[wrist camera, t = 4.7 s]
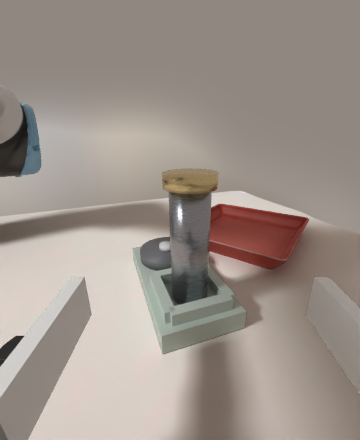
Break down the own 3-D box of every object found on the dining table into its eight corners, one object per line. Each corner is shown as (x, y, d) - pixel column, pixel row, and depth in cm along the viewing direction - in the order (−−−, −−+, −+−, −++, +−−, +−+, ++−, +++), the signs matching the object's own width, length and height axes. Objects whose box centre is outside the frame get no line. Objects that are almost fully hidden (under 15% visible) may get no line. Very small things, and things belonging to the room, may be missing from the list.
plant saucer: (169, 245, 38) (168, 227, 37) (218, 216, 52) (219, 202, 50) (282, 284, 28) (287, 261, 27) (306, 234, 42) (310, 217, 40)
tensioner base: (133, 260, 33) (131, 236, 32) (184, 251, 35) (184, 228, 34) (162, 354, 19) (160, 318, 17) (244, 327, 21) (248, 295, 20)
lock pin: (161, 285, 24) (156, 170, 20) (200, 276, 26) (203, 167, 21) (175, 315, 20) (171, 179, 16) (220, 303, 21) (229, 175, 17)
